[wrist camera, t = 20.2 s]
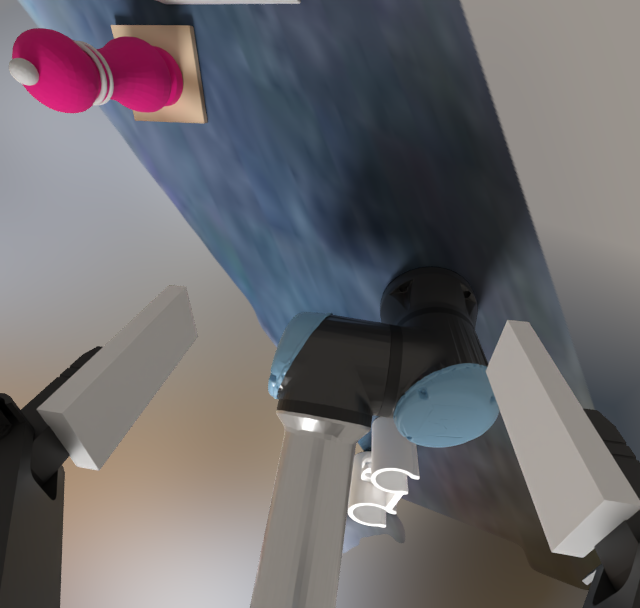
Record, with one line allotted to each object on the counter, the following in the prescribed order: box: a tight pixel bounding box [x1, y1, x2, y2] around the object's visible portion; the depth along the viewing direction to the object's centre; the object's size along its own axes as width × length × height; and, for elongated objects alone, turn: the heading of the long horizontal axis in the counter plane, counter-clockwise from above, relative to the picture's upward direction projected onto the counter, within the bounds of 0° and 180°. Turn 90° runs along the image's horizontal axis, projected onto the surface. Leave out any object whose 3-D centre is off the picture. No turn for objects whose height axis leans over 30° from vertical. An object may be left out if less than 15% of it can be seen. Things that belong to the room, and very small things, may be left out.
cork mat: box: [111, 25, 208, 123], centre depth 42 cm, size 10×10×1 cm
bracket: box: [348, 416, 420, 528], centre depth 73 cm, size 25×10×12 cm, turn 169°
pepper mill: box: [9, 28, 183, 113], centre depth 33 cm, size 7×7×20 cm
